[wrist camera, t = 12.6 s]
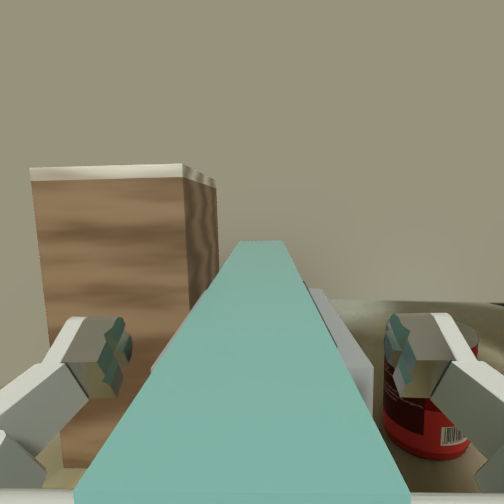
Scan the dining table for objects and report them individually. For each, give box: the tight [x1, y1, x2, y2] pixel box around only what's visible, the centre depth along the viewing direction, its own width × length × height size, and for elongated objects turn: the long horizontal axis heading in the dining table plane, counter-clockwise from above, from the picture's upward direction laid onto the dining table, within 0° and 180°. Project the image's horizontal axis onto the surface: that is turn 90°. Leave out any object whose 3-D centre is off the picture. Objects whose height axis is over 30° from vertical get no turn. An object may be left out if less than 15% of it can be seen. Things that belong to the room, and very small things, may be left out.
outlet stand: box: [30, 164, 219, 468], centre depth 37 cm, size 19×12×26 cm, turn 178°
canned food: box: [383, 319, 478, 460], centre depth 32 cm, size 8×8×11 cm
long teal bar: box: [73, 241, 411, 504], centre depth 16 cm, size 24×4×4 cm, turn 178°
